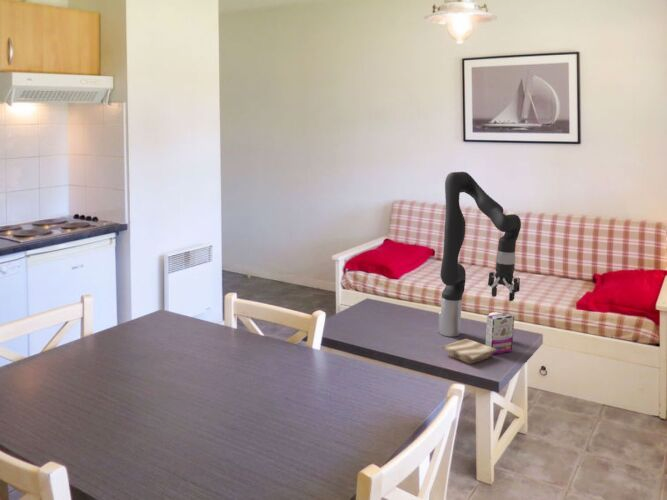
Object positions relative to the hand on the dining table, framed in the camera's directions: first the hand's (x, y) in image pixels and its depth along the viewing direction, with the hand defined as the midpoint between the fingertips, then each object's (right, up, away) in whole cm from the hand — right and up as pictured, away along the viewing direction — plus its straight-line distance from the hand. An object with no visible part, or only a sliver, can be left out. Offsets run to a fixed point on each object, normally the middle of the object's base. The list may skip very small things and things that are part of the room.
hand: (502, 298), depth 278 cm
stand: (-15, -24, -2) cm, 28 cm away
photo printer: (+3, -20, +21) cm, 29 cm away
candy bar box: (-1, -24, +5) cm, 24 cm away
